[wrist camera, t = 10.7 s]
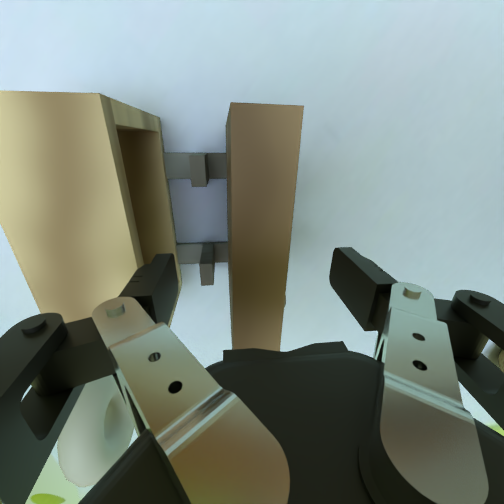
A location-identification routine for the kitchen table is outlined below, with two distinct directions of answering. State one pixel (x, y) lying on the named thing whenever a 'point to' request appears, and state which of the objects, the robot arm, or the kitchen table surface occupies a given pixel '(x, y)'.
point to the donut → (94, 433)
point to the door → (260, 217)
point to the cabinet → (92, 197)
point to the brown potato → (501, 360)
